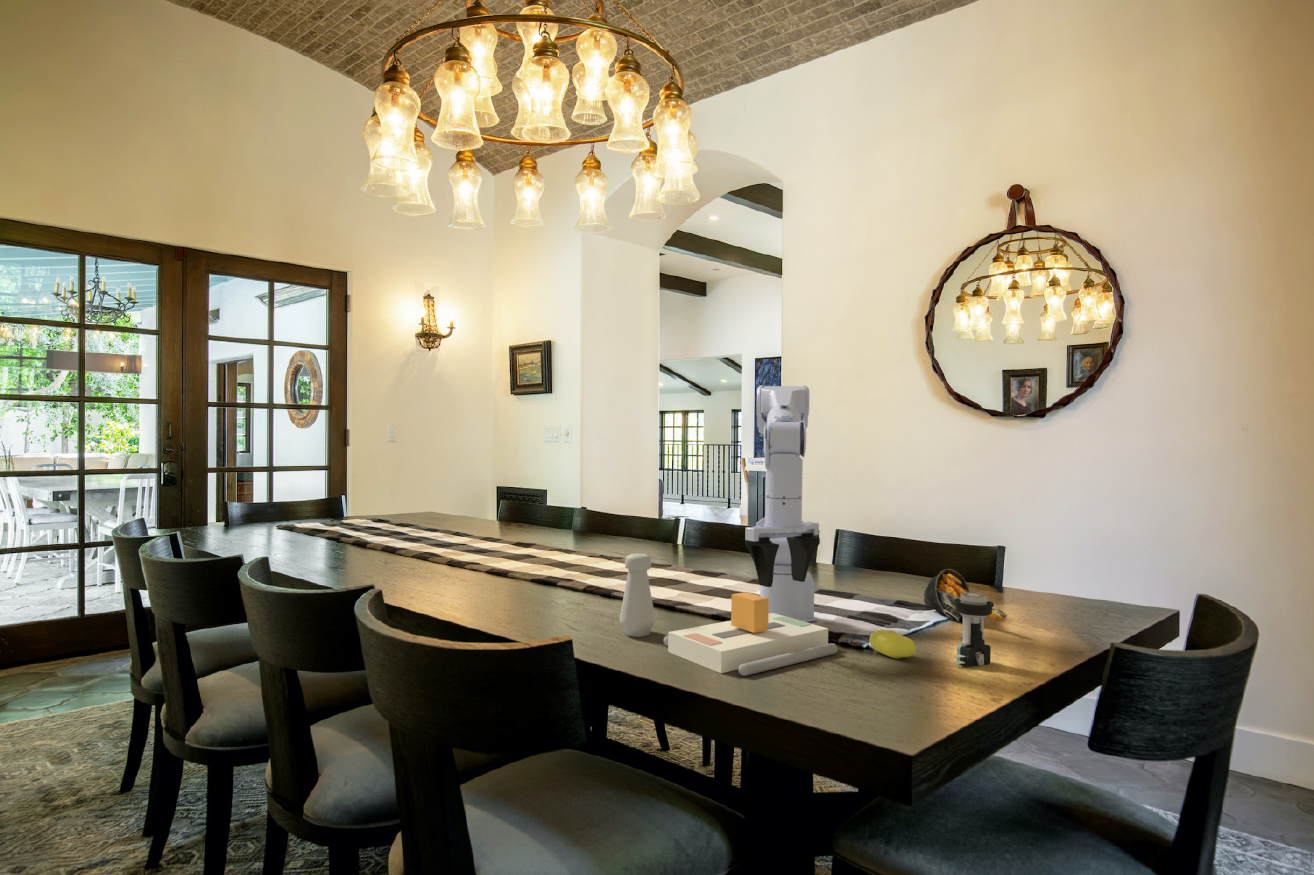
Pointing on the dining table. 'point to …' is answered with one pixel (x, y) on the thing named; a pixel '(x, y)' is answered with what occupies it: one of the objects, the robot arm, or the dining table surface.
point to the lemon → (892, 644)
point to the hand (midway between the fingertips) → (782, 583)
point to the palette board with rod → (783, 658)
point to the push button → (973, 629)
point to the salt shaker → (637, 597)
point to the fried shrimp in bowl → (950, 594)
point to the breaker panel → (744, 642)
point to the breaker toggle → (749, 612)
